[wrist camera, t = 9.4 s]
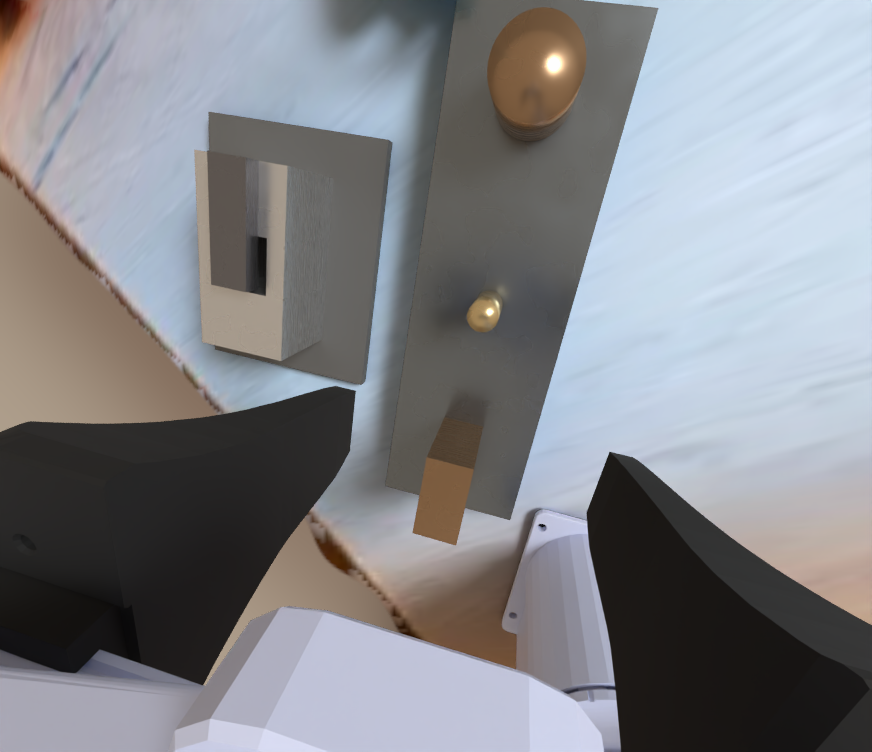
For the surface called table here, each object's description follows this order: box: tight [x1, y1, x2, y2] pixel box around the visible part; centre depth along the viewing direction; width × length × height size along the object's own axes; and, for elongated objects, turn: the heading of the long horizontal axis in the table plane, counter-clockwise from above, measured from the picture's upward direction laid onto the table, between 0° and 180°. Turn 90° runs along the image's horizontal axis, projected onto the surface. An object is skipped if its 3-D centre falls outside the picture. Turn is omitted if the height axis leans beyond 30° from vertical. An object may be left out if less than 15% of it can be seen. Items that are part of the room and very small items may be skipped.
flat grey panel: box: [209, 112, 392, 385], centre depth 21 cm, size 12×9×1 cm
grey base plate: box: [385, 0, 658, 545], centre depth 18 cm, size 22×7×6 cm, turn 170°
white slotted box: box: [194, 150, 333, 361], centre depth 19 cm, size 8×4×5 cm, turn 170°
